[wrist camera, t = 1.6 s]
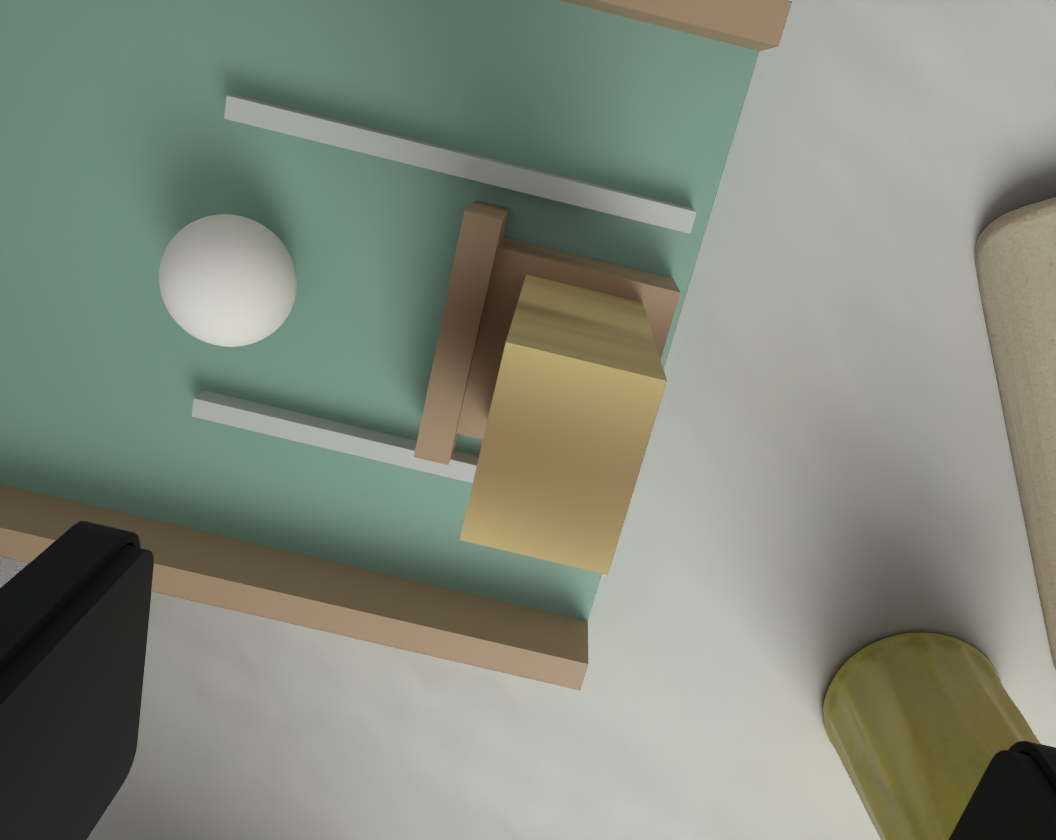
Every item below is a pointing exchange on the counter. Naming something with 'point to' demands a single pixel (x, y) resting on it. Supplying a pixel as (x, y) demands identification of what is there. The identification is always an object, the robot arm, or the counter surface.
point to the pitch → (326, 278)
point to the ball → (227, 280)
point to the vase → (919, 730)
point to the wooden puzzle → (1027, 369)
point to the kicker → (546, 390)
